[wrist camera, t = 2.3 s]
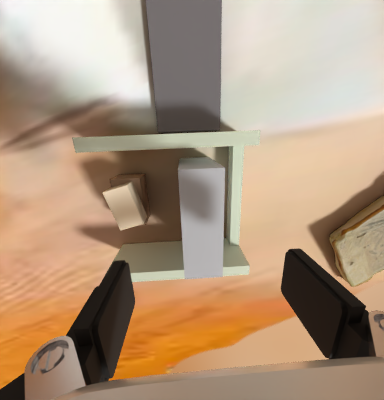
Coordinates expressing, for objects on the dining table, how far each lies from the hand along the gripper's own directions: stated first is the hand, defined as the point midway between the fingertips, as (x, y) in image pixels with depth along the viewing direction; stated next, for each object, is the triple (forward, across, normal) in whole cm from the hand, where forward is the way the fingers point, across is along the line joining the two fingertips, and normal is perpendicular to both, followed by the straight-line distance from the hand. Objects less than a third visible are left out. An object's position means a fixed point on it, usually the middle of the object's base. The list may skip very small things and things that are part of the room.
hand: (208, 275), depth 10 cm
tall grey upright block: (+14, 0, -1) cm, 14 cm away
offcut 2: (+11, +8, -1) cm, 13 cm away
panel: (+13, 0, -15) cm, 20 cm away
